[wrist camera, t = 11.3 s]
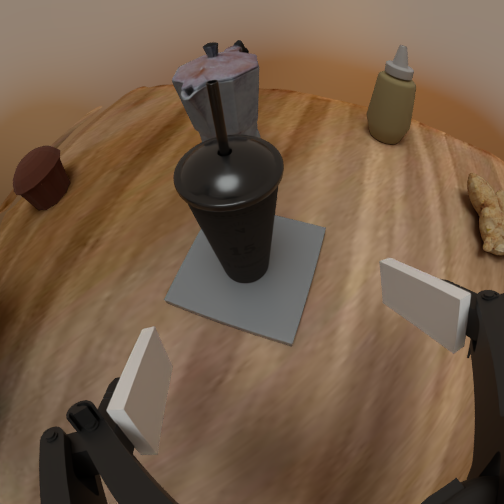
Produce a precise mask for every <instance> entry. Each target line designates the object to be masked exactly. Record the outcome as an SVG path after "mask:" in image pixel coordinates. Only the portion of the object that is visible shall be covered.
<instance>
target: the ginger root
mask: <svg viewBox="0 0 504 504" xmlns="http://www.w3.org/2000/svg"><path fill="white" fill-rule="evenodd" d="M467 189H468V194H469V197H470V200H471V203H472V205H473V207H474V209H475V210H476V212H477V213H478V214H479V215H478V216H480V218H479V228H480V233H481V237H482V240H483V242H484V244H483V250H484V251H486V252H491V253H493V254H495V255H504V191H502V190H499V191H497V192H496V194H495V193H494V190H493V189H492V188H491V186H490V185H489V184H488V182H487V181H485V180H484V179H483V178H482V177H480V176H478V175H476V174H475V173H470V174H469V177H468V182H467Z"/></svg>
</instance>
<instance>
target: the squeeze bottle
mask: <svg viewBox="0 0 504 504" xmlns="http://www.w3.org/2000/svg"><path fill="white" fill-rule="evenodd" d="M407 55H408V54H407V47H406V46H403V45H400V46H399V49H398V51H397V53H396V55H395V58H394V60H393V61H387V62H386V66H385V71H382V72H380V73H379V74H378V77H377V81H376V84H375V88H374V91H373V94H372V98H371V102H370V105H369V108H368V111H367V119H368V125H369V131H370V134H371V135H372V136H373V137H374V138H375V139H377V140H379V141H381V142H384V143H387V144H396V143H398V142H399V141H400V140H401V139H402V138H403V136H404V135H405V134H406V133H407V131H408V130H409V129H410V123H411V118H412V112H413V105H414V99H415V92H416V85H415V83H414V82H413V81H412V78H413V73H414V71H413V69H412V68H411V67H409V66H408V56H407Z"/></svg>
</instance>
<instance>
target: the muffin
mask: <svg viewBox="0 0 504 504" xmlns="http://www.w3.org/2000/svg"><path fill="white" fill-rule="evenodd" d="M69 184H70V180H69V178H68V176H67V174H66V172H65V170H64V167H63V165H62V163H61V160H60V150H58V149H56V148H54V147H51V146H42V147H38V148H36V149H34V150H32V151H30V152H29V153H28V154H27V155H26V156H25V157H24V158H23V159H22V160H21V161H20V163H19V164H18V166H17V168H16V171H15V174H14V178H13V187H14V192H15V193H16V195H21V196H22V197H23V198H25V199H26V200H27V201H28V202H29V203H31V204H32V205H33V206H34V207H35V208H37V209H38V210H47V209H49V208H50V207H51V206H53V205H55V204H57V203H58V201H59V200H60V199H61V198H62V197H63V196H64V194H65V193H66V192H67V189H68V186H69Z"/></svg>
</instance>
